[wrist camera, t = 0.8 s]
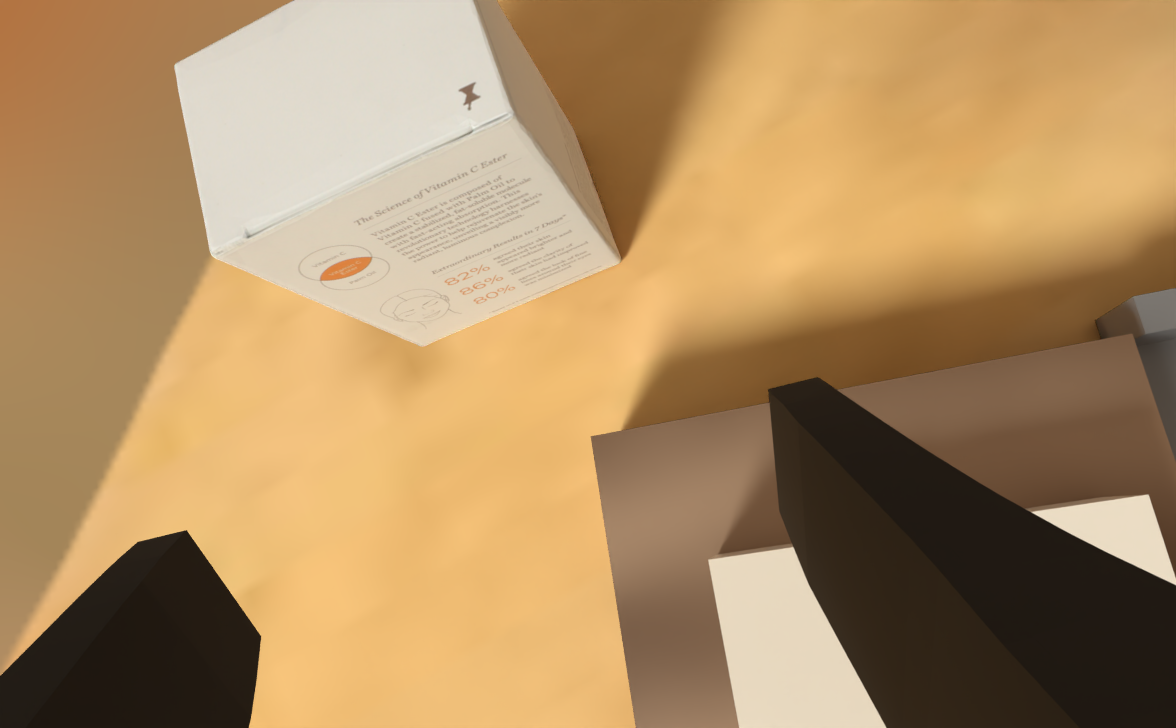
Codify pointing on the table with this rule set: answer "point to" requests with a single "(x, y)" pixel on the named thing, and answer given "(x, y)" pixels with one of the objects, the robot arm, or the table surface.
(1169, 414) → the box
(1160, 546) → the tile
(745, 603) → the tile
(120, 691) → the robot arm
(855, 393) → the walnut plate
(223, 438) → the table surface
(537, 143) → the small box
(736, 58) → the table surface
